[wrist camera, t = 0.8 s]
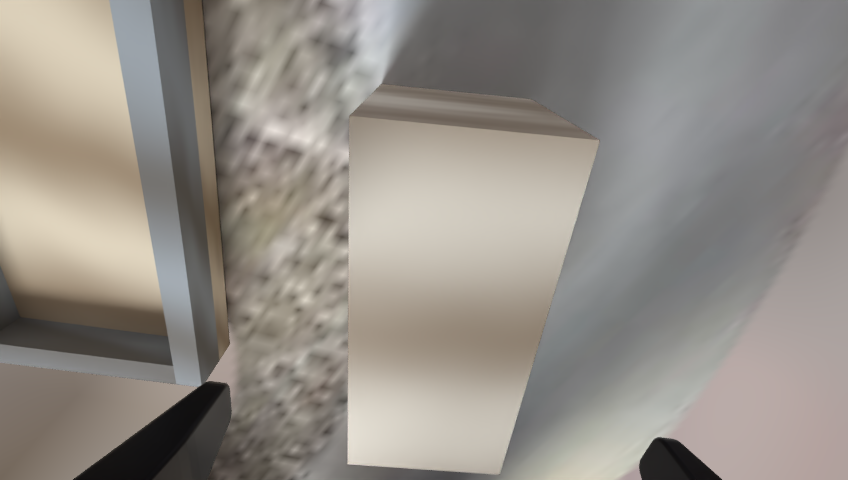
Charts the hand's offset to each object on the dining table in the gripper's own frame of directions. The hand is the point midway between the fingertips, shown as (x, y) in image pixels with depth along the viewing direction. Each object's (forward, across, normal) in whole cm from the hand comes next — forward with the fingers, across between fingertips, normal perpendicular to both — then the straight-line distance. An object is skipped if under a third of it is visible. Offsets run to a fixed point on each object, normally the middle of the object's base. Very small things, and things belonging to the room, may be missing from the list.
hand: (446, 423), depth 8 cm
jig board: (+8, +13, -1) cm, 15 cm away
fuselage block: (+8, 0, 0) cm, 8 cm away
